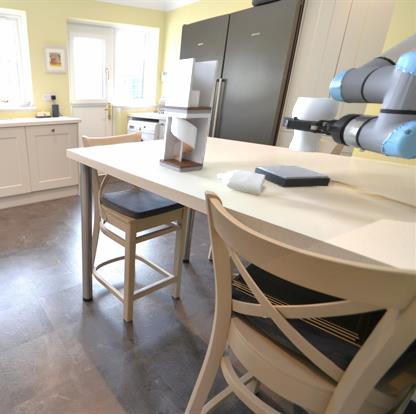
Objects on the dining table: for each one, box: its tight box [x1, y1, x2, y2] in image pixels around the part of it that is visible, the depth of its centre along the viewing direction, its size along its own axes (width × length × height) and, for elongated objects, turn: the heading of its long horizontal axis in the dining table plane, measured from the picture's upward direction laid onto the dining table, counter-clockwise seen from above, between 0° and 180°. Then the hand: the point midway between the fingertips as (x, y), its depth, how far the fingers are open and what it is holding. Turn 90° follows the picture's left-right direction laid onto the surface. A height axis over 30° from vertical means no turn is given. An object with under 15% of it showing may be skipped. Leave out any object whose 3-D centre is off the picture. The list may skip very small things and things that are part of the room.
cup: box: [288, 97, 340, 153], centre depth 84 cm, size 11×11×15 cm
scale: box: [254, 165, 331, 188], centre depth 91 cm, size 16×14×3 cm
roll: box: [216, 169, 266, 196], centre depth 80 cm, size 6×12×6 cm, turn 55°
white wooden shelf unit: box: [158, 57, 220, 173], centre depth 98 cm, size 11×11×35 cm
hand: (302, 122), depth 88 cm, fingers closed on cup, 11 cm apart
